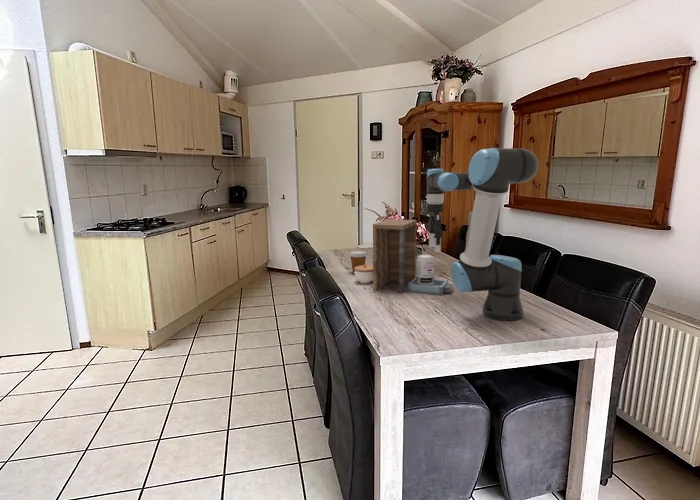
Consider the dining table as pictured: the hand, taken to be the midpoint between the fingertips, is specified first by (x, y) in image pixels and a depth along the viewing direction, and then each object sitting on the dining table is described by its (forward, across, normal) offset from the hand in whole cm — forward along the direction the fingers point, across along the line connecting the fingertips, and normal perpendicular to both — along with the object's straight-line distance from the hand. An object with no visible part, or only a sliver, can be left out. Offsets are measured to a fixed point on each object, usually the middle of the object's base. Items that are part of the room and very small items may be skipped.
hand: (434, 249), depth 190 cm
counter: (+20, -9, -18) cm, 28 cm away
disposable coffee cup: (+19, -37, -35) cm, 55 cm away
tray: (+20, -2, -1) cm, 20 cm away
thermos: (+20, -26, +26) cm, 42 cm away
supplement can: (+19, -2, -4) cm, 19 cm away
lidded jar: (+20, -18, -32) cm, 42 cm away
